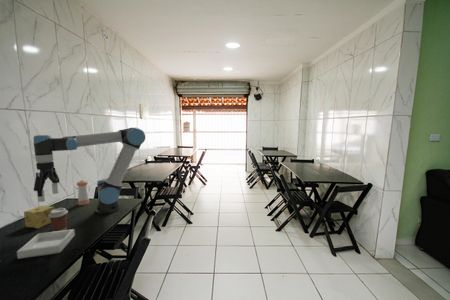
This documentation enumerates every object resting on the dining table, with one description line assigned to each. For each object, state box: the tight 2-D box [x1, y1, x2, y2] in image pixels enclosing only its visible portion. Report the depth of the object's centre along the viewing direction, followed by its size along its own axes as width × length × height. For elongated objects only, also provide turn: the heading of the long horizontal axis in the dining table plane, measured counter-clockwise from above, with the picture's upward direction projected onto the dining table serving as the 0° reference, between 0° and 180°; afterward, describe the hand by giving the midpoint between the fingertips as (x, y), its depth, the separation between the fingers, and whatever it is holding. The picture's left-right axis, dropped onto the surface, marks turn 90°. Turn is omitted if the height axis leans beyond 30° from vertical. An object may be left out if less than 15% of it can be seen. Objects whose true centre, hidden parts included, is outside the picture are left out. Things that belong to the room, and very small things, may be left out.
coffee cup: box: [48, 207, 69, 232], centre depth 119 cm, size 9×9×12 cm
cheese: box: [23, 205, 55, 229], centre depth 126 cm, size 10×11×10 cm
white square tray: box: [16, 228, 76, 260], centre depth 103 cm, size 17×17×4 cm
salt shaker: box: [76, 179, 90, 206], centre depth 158 cm, size 7×7×19 cm
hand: (49, 197), depth 118 cm, fingers open, 13 cm apart
